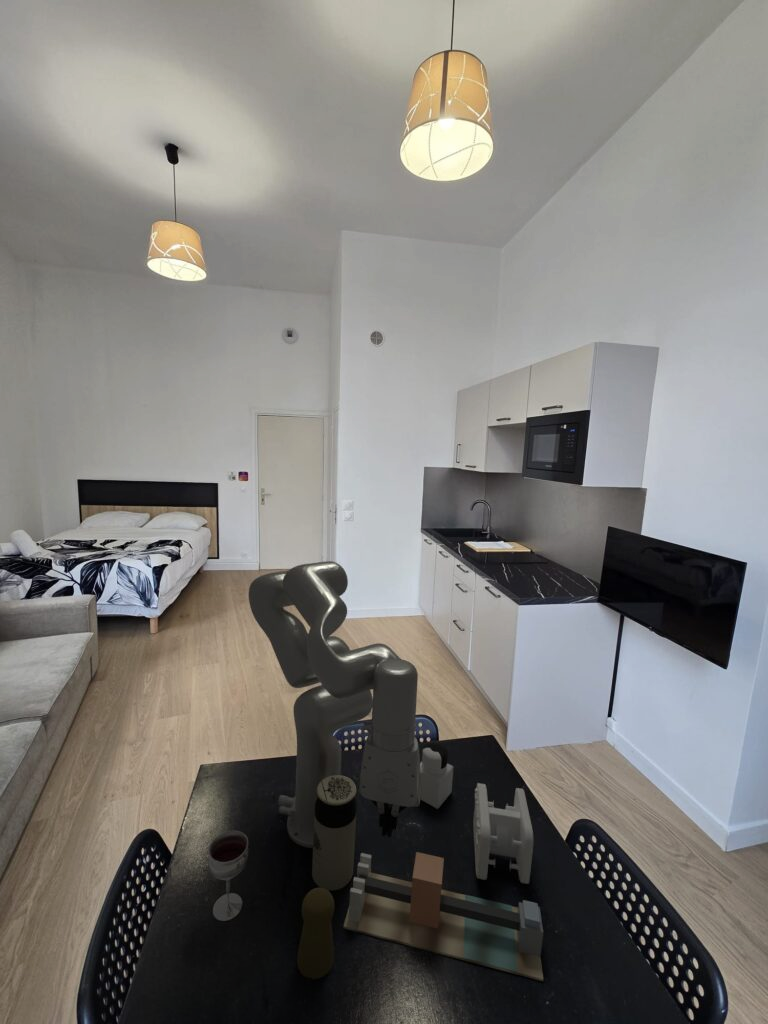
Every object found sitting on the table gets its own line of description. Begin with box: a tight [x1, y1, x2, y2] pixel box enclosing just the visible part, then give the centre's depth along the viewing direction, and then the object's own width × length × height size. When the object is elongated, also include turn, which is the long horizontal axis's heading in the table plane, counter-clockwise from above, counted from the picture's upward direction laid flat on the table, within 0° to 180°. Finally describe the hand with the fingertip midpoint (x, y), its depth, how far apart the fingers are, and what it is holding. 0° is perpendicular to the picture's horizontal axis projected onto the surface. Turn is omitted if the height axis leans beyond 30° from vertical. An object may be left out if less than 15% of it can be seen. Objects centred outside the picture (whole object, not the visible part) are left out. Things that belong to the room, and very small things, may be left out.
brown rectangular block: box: [409, 851, 445, 929], centre depth 80 cm, size 5×5×9 cm
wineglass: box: [207, 830, 249, 922], centre depth 80 cm, size 7×7×12 cm
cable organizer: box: [472, 782, 534, 885], centre depth 93 cm, size 15×11×12 cm
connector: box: [517, 899, 544, 957], centre depth 77 cm, size 4×4×6 cm
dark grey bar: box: [359, 875, 520, 931], centre depth 80 cm, size 30×2×2 cm, turn 79°
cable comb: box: [348, 852, 372, 922], centre depth 83 cm, size 2×8×6 cm, turn 169°
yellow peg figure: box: [296, 886, 336, 980], centre depth 72 cm, size 6×6×11 cm
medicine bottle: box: [419, 742, 454, 810], centre depth 109 cm, size 7×7×12 cm
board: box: [343, 872, 544, 982], centre depth 80 cm, size 33×11×1 cm, turn 79°
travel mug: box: [311, 774, 358, 891], centre depth 87 cm, size 8×8×18 cm
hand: (388, 830), depth 80 cm, fingers closed
